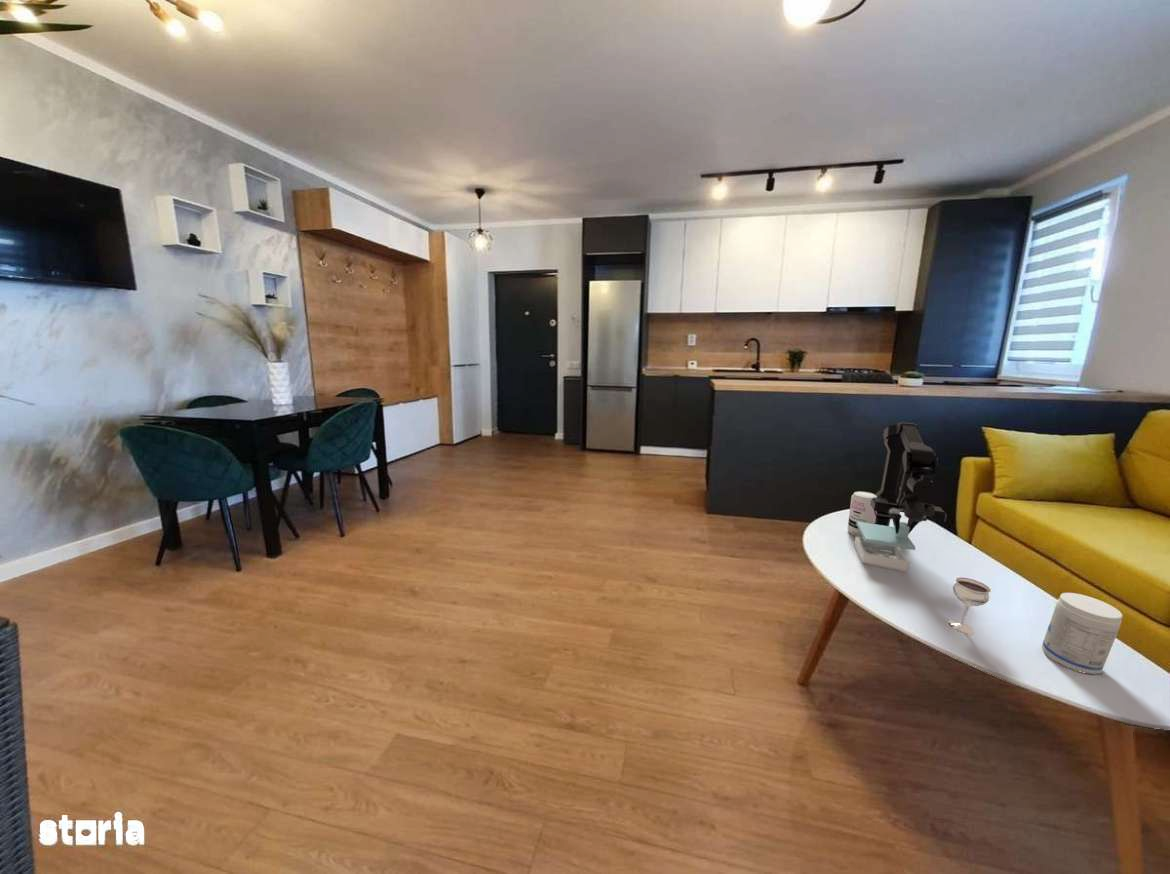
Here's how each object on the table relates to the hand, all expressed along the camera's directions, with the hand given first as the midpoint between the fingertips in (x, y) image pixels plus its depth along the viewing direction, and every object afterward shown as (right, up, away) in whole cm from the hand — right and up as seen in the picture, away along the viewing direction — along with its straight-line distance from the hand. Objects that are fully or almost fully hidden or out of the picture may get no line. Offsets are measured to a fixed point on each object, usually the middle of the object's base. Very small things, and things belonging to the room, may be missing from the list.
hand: (901, 533), depth 139 cm
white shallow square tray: (-5, -9, +4) cm, 11 cm away
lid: (-4, -1, +2) cm, 5 cm away
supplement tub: (+10, -20, -39) cm, 45 cm away
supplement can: (0, -5, +21) cm, 21 cm away
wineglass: (-6, -17, -29) cm, 34 cm away
